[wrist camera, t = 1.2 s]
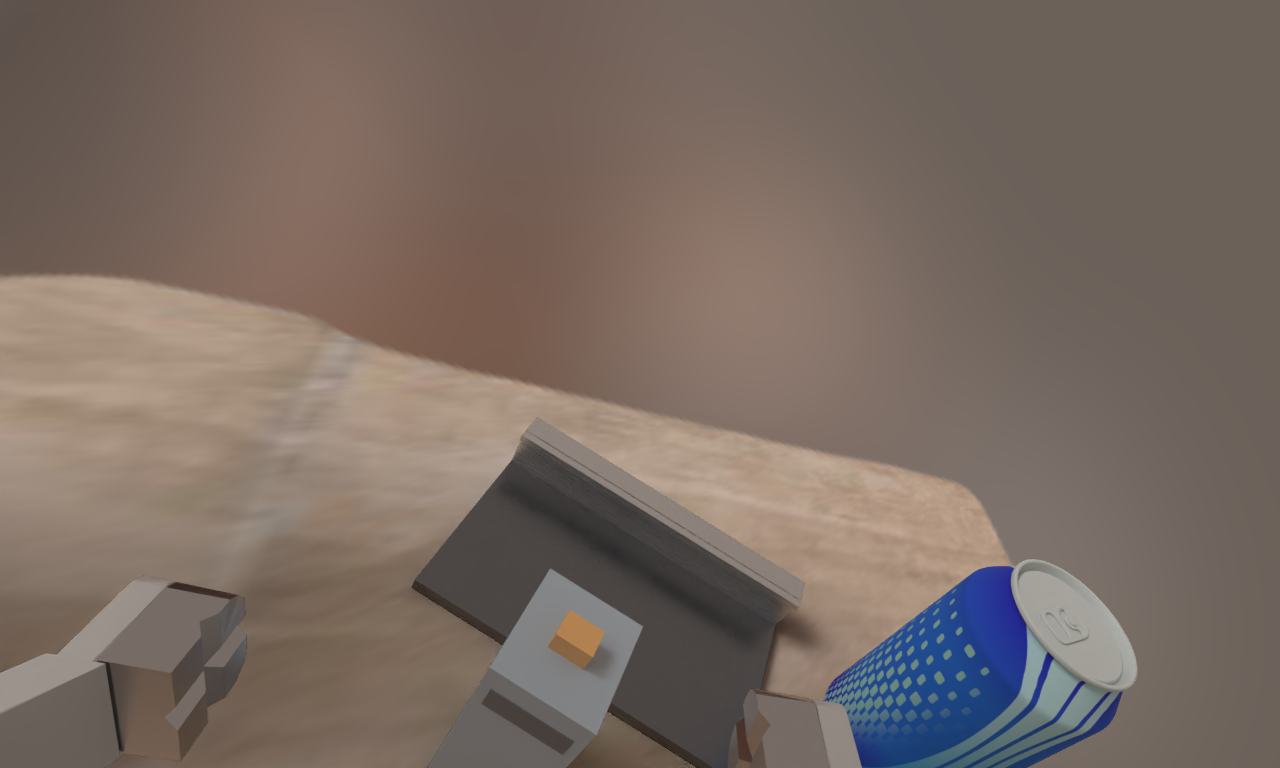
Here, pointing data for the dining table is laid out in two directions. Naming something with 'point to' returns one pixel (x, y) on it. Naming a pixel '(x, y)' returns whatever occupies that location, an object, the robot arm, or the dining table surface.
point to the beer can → (990, 674)
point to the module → (544, 684)
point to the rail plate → (623, 585)
